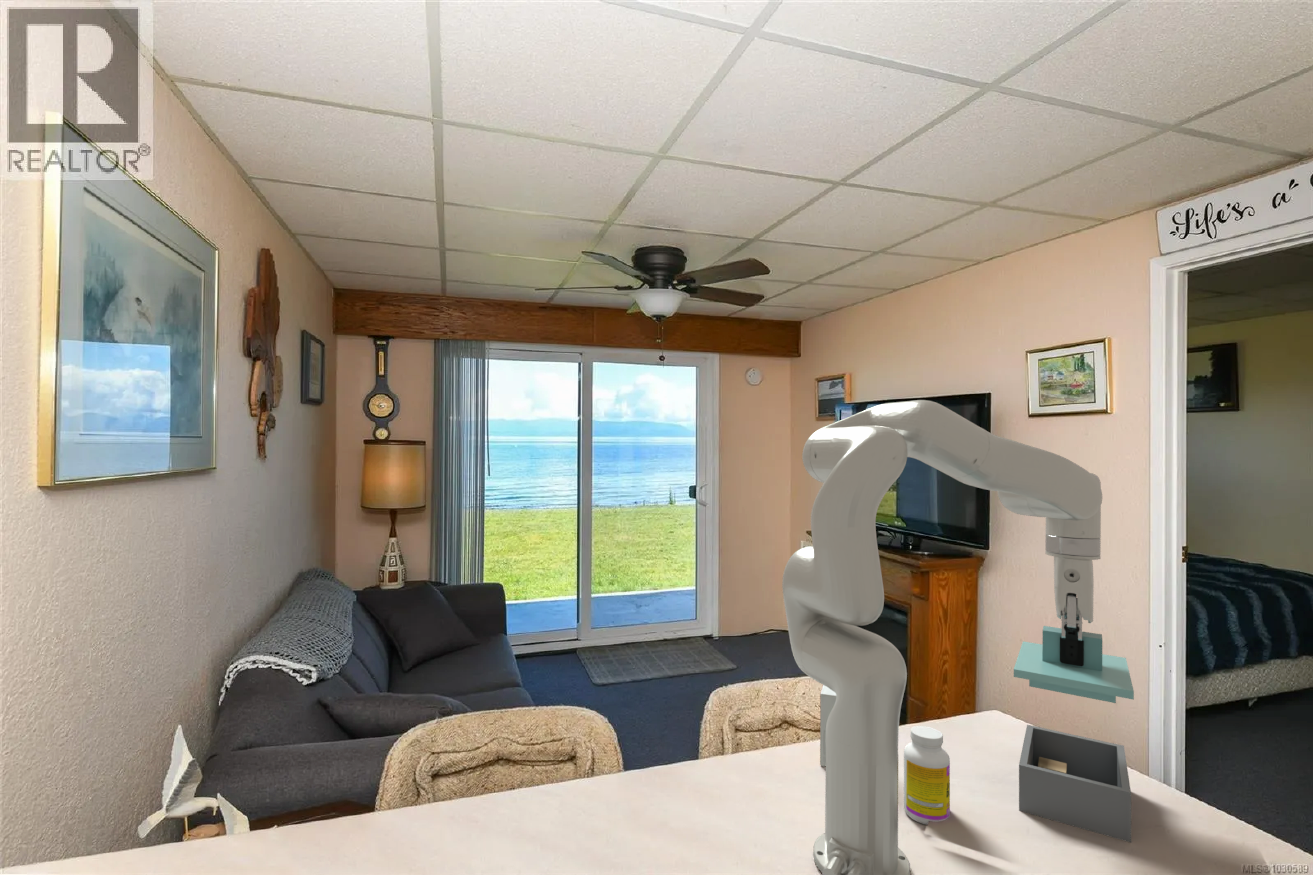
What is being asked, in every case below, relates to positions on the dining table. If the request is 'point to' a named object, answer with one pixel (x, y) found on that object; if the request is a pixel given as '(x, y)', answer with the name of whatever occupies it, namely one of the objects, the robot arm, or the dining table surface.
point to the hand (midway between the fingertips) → (1071, 659)
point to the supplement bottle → (926, 776)
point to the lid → (1074, 668)
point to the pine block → (1052, 765)
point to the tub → (1076, 782)
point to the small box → (825, 718)
